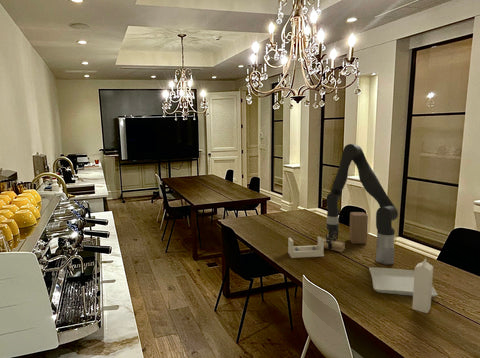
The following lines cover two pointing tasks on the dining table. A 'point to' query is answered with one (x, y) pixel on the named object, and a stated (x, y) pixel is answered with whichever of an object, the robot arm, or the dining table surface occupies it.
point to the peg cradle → (306, 249)
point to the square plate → (394, 281)
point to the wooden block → (358, 227)
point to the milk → (422, 287)
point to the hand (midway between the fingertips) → (332, 247)
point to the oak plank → (335, 245)
